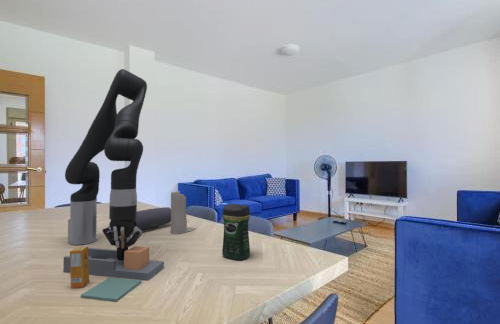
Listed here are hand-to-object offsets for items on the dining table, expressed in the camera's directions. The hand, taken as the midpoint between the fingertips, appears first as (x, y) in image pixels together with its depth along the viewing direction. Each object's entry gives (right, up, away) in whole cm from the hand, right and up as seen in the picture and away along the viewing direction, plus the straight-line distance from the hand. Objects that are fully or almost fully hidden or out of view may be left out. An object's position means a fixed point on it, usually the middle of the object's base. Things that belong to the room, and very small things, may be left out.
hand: (122, 259), depth 79 cm
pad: (+3, -4, -12) cm, 13 cm away
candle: (+7, -4, +47) cm, 47 cm away
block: (+5, -2, -1) cm, 5 cm away
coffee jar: (+34, -4, +13) cm, 37 cm away
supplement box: (-7, -4, -10) cm, 12 cm away
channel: (-4, -3, +1) cm, 5 cm away
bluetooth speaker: (-11, -4, +49) cm, 50 cm away
